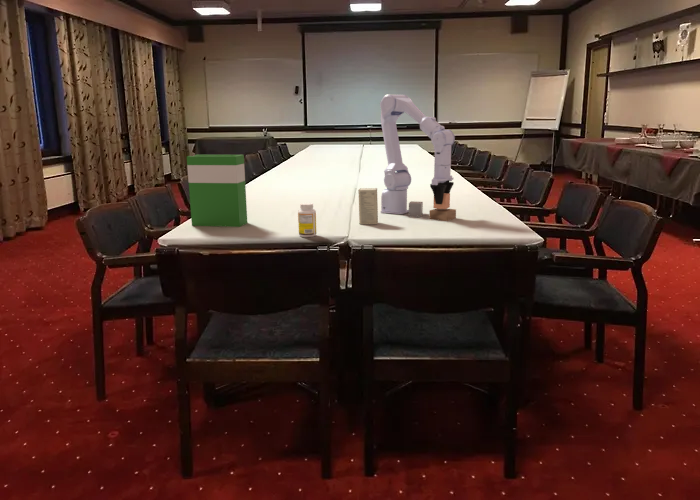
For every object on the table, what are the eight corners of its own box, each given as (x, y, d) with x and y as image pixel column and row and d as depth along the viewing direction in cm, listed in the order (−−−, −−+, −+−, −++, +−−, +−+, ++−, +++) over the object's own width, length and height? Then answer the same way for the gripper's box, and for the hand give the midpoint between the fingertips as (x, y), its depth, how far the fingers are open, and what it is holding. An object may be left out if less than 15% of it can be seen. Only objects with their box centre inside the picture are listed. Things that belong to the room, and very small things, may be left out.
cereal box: (191, 225, 201) (186, 156, 195) (201, 221, 208) (196, 154, 202) (239, 226, 197) (235, 156, 192) (247, 222, 205) (243, 154, 199)
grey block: (408, 216, 213) (408, 203, 212) (410, 214, 218) (410, 201, 216) (420, 217, 212) (420, 203, 211) (422, 214, 216) (422, 201, 215)
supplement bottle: (307, 233, 185) (306, 201, 183) (320, 235, 182) (319, 203, 179) (295, 236, 181) (294, 204, 179) (307, 238, 178) (306, 205, 175)
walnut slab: (429, 220, 207) (429, 210, 206) (438, 217, 213) (438, 207, 212) (446, 221, 203) (447, 212, 202) (455, 218, 209) (456, 209, 208)
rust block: (433, 208, 206) (433, 194, 205) (437, 206, 210) (438, 192, 209) (445, 208, 204) (445, 194, 203) (449, 207, 208) (450, 193, 207)
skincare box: (378, 222, 202) (378, 187, 199) (376, 224, 198) (376, 189, 195) (360, 222, 203) (360, 187, 200) (358, 224, 199) (358, 189, 196)
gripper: (445, 167, 195) (444, 206, 198) (460, 163, 207) (459, 201, 210) (426, 166, 199) (425, 205, 202) (442, 163, 211) (441, 199, 214)
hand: (441, 203), depth 206 cm, fingers closed on rust block, 4 cm apart
